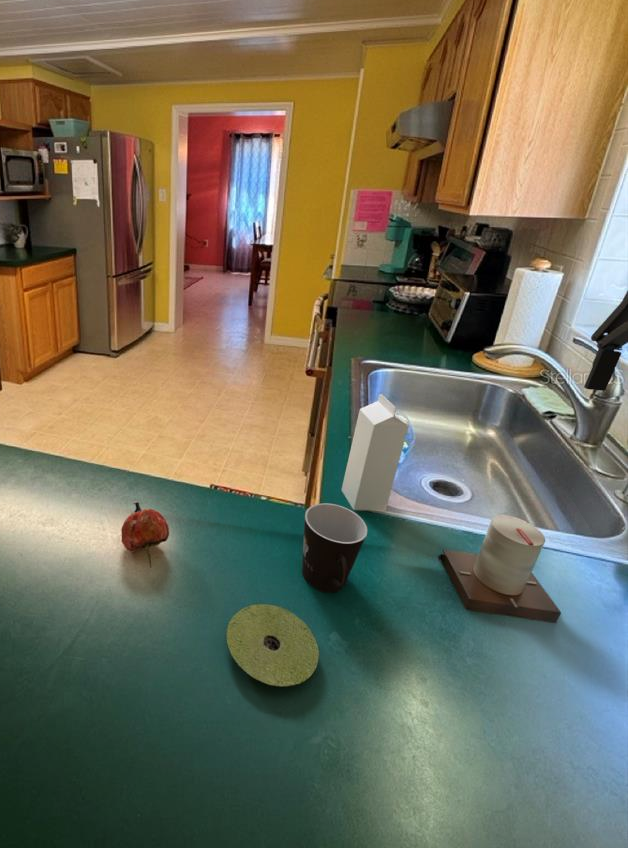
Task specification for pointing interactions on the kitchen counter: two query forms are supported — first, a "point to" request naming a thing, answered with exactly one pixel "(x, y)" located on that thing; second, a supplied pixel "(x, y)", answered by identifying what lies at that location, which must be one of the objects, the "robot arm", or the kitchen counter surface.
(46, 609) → the kitchen counter surface
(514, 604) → the brown dial base
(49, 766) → the kitchen counter surface
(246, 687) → the kitchen counter surface
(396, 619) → the kitchen counter surface
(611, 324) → the robot arm
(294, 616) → the green disc with hole
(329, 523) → the coffee mug
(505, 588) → the cream knob
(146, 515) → the pomegranate
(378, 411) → the milk
